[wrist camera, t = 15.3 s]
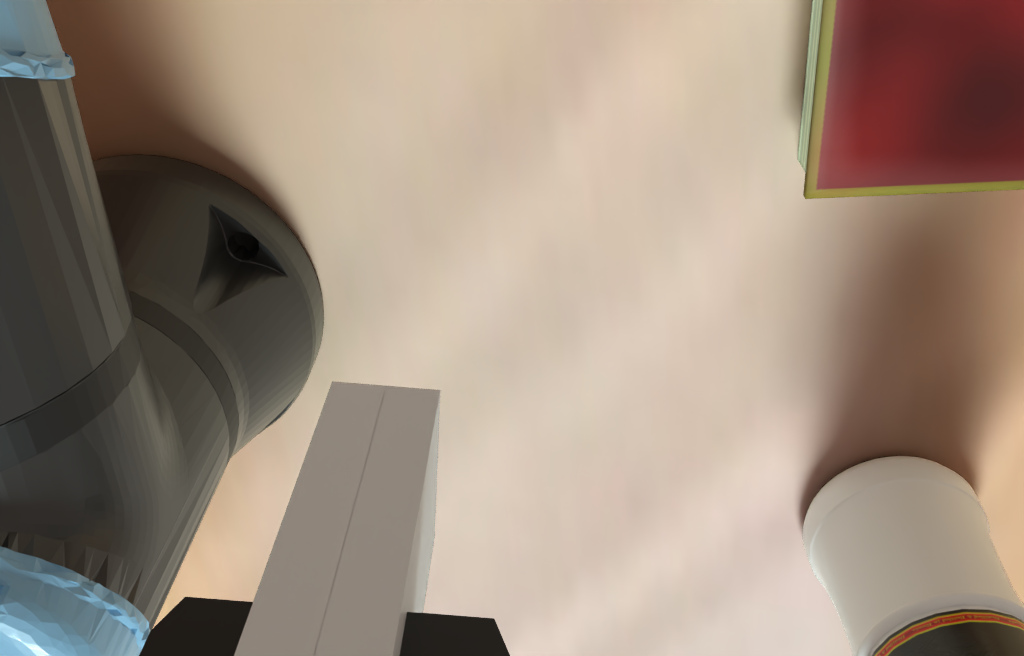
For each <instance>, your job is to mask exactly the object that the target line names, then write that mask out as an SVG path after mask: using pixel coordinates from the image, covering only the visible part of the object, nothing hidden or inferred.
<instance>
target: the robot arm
mask: <svg viewBox="0 0 1024 656" xmlns="http://www.w3.org/2000/svg"><path fill="white" fill-rule="evenodd" d="M73 76H75V70H74V65H73V61H72V58H71V57H70V56H69V55H68V54H66V53H65V52H64V51H63V50H62V47H61V44H60V41H59V38H58V35H57V32H56V29H55V26H54V23H53V20H52V17H51V14H50V11H49V8H48V5H47V3H46V0H0V656H510V655H509V652H508V650H507V648H506V645H505V643H504V641H503V638H502V636H501V634H500V631H499V629H498V627H497V624H496V622H495V620H494V619H492V618H479V617H466V616H454V615H441V614H428V613H423V609H424V602H425V596H426V589H427V583H428V576H429V570H430V563H431V557H432V550H433V544H434V537H435V513H436V488H437V463H438V437H439V412H440V390H432V389H419V388H407V387H394V386H382V385H369V384H357V383H344V382H332V384H331V387H330V389H329V392H328V395H327V398H326V401H325V403H324V406H323V409H322V412H321V415H320V417H319V420H318V423H317V426H316V428H315V431H314V434H313V437H312V440H311V442H310V445H309V448H308V451H307V454H306V456H305V459H304V462H303V465H302V467H301V470H300V473H299V476H298V479H297V481H296V484H295V487H294V490H293V493H292V495H291V498H290V501H289V504H288V506H287V509H286V512H285V515H284V518H283V520H282V523H281V526H280V529H279V532H278V534H277V537H276V540H275V543H274V545H273V548H272V551H271V554H270V557H269V559H268V562H267V565H266V568H265V571H264V573H263V576H262V579H261V582H260V584H259V587H258V590H257V593H256V596H255V598H254V601H253V602H244V601H231V600H219V599H206V598H193V597H185V598H184V599H183V600H182V601H181V602H180V603H179V604H177V605H176V606H175V607H174V608H173V609H172V610H171V611H170V612H169V613H168V614H167V615H166V616H165V617H164V618H163V619H162V620H161V621H160V622H159V623H158V624H157V625H156V626H155V627H154V628H153V626H154V624H155V622H156V619H157V617H158V615H159V613H160V611H161V608H162V606H163V604H164V602H165V600H166V598H167V595H168V593H169V591H170V589H171V587H172V584H173V582H174V580H175V578H176V576H177V574H178V571H179V569H180V567H181V565H182V563H183V560H184V558H185V556H186V554H187V552H188V550H189V547H190V545H191V543H192V541H193V539H194V536H195V534H196V532H197V530H198V528H199V526H200V523H201V521H202V519H203V517H204V515H205V513H206V510H207V508H208V506H209V504H210V502H211V499H212V497H213V495H214V493H215V491H216V489H217V486H218V484H219V482H220V480H221V478H222V475H223V473H224V470H225V468H226V466H227V464H228V462H229V460H230V458H231V457H232V456H233V455H234V454H236V453H237V452H238V451H239V450H240V449H241V448H243V447H244V446H245V445H246V444H247V443H248V442H249V441H251V440H252V439H253V438H254V437H255V436H256V435H258V434H259V433H261V432H262V431H263V430H265V429H266V428H268V427H269V426H270V425H272V424H273V423H274V422H275V421H277V420H278V419H279V418H280V417H281V416H282V415H283V414H284V413H285V412H286V411H287V410H288V409H289V408H290V407H291V405H292V404H293V403H294V401H295V400H296V399H297V397H298V396H299V394H300V392H301V391H302V389H303V387H304V385H305V383H306V381H307V379H308V377H309V374H310V372H311V369H312V367H313V365H314V362H315V360H316V357H317V354H318V352H319V348H320V345H321V340H322V335H323V326H324V311H323V301H322V295H321V291H320V287H319V283H318V280H317V277H316V274H315V271H314V269H313V267H312V264H311V262H310V260H309V258H308V256H307V254H306V252H305V251H304V249H303V247H302V246H301V244H300V243H299V241H298V240H297V238H296V237H295V235H294V234H293V233H292V231H291V230H290V229H289V228H288V226H287V225H286V224H285V223H284V222H283V221H282V220H281V219H280V218H279V216H278V215H277V214H276V213H275V212H274V211H272V210H271V209H270V208H269V207H268V206H267V205H266V204H265V203H264V202H262V201H261V200H260V199H259V198H257V197H256V196H255V195H253V194H252V193H251V192H249V191H248V190H246V189H245V188H243V187H242V186H240V185H239V184H237V183H235V182H233V181H232V180H230V179H228V178H226V177H224V176H222V175H220V174H218V173H216V172H214V171H211V170H209V169H206V168H204V167H201V166H198V165H195V164H192V163H189V162H185V161H181V160H177V159H172V158H167V157H160V156H152V155H123V156H114V157H108V158H103V159H99V160H95V161H92V158H91V154H90V151H89V147H88V143H87V140H86V136H85V132H84V128H83V124H82V120H81V116H80V112H79V108H78V104H77V100H76V96H75V92H74V88H73V84H72V80H71V77H73ZM152 628H153V629H152Z"/></svg>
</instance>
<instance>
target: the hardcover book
mask: <svg viewBox="0 0 1024 656" xmlns="http://www.w3.org/2000/svg"><path fill="white" fill-rule="evenodd" d="M798 161H799V162H800V164H801V166H802V167H803V169H804V171H805V172H806V174H805V184H804V194H803V195H804V197H805V199H812V198H835V197H858V196H881V195H905V194H928V193H951V192H974V191H997V190H1021V189H1024V0H813V1H812V11H811V22H810V33H809V43H808V54H807V64H806V75H805V85H804V96H803V107H802V117H801V128H800V138H799V149H798Z"/></svg>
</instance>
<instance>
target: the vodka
mask: <svg viewBox="0 0 1024 656" xmlns="http://www.w3.org/2000/svg"><path fill="white" fill-rule="evenodd" d="M802 538H803V545H804V548H805V551H806V554H807V557H808V560H809V563H810V565H811V567H812V570H813V572H814V574H815V576H816V577H817V579H818V580H819V582H820V583H821V584H822V585H823V586H824V587H825V589H826V590H827V592H828V594H829V596H830V598H831V600H832V602H833V604H834V606H835V608H836V610H837V612H838V614H839V617H840V619H841V622H842V625H843V627H844V630H845V633H846V635H847V638H848V641H849V644H850V647H851V651H852V654H853V656H1024V604H1023V602H1022V601H1021V599H1020V598H1019V596H1018V594H1017V593H1016V591H1015V590H1014V588H1013V586H1012V584H1011V582H1010V580H1009V578H1008V576H1007V573H1006V571H1005V569H1004V567H1003V565H1002V563H1001V561H1000V558H999V556H998V554H997V552H996V549H995V547H994V544H993V542H992V539H991V536H990V529H989V522H988V519H987V516H986V513H985V511H984V509H983V507H982V505H981V503H980V501H979V499H978V497H977V496H976V494H975V492H974V490H973V489H972V487H971V486H970V485H969V483H968V482H967V481H966V480H965V479H964V478H963V477H961V476H960V475H959V474H957V473H956V472H954V471H952V470H950V469H949V468H947V467H945V466H943V465H941V464H939V463H936V462H934V461H931V460H928V459H924V458H919V457H911V456H891V457H883V458H878V459H873V460H870V461H866V462H863V463H860V464H858V465H855V466H853V467H851V468H849V469H847V470H845V471H843V472H842V473H840V474H838V475H837V476H835V477H834V478H833V479H831V480H830V481H829V482H828V483H827V484H826V485H825V486H824V487H823V488H822V489H821V490H820V491H819V492H818V493H817V495H816V496H815V497H814V499H813V501H812V502H811V504H810V506H809V509H808V511H807V514H806V518H805V521H804V525H803V531H802Z"/></svg>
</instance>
